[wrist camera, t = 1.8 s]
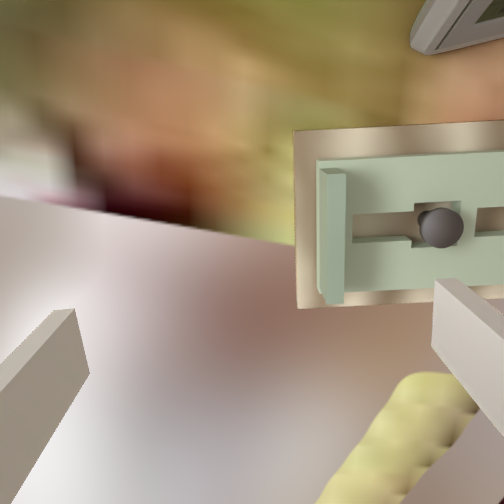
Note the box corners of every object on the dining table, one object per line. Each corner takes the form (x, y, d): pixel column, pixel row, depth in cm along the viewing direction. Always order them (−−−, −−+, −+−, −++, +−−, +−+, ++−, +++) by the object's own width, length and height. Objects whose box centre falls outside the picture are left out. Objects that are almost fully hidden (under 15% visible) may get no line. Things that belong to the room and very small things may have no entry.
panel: (316, 286, 34) (326, 311, 30) (316, 159, 31) (327, 166, 26) (592, 272, 34) (641, 295, 29) (620, 143, 31) (679, 147, 26)
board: (296, 302, 36) (302, 326, 32) (292, 131, 31) (299, 133, 27) (639, 285, 36) (689, 306, 32) (683, 110, 31) (747, 109, 27)
